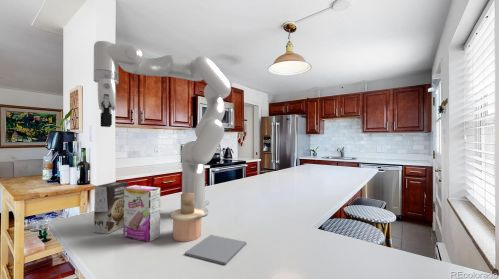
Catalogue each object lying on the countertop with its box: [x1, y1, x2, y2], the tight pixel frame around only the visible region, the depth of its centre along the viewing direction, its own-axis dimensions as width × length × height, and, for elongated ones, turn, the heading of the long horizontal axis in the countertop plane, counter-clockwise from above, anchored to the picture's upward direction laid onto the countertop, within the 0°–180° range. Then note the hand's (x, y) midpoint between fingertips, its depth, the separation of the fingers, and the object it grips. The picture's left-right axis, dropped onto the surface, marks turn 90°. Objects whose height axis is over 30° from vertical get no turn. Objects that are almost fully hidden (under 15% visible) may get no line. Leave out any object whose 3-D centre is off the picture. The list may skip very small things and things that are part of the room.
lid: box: [170, 193, 204, 221], centre depth 76 cm, size 11×11×7 cm
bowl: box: [172, 217, 203, 243], centre depth 76 cm, size 9×9×7 cm
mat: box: [184, 234, 247, 266], centre depth 66 cm, size 13×13×1 cm
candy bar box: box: [123, 184, 161, 243], centre depth 74 cm, size 11×5×16 cm, turn 71°
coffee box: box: [93, 181, 129, 235], centre depth 82 cm, size 9×6×16 cm
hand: (105, 126), depth 80 cm, fingers open, 9 cm apart
